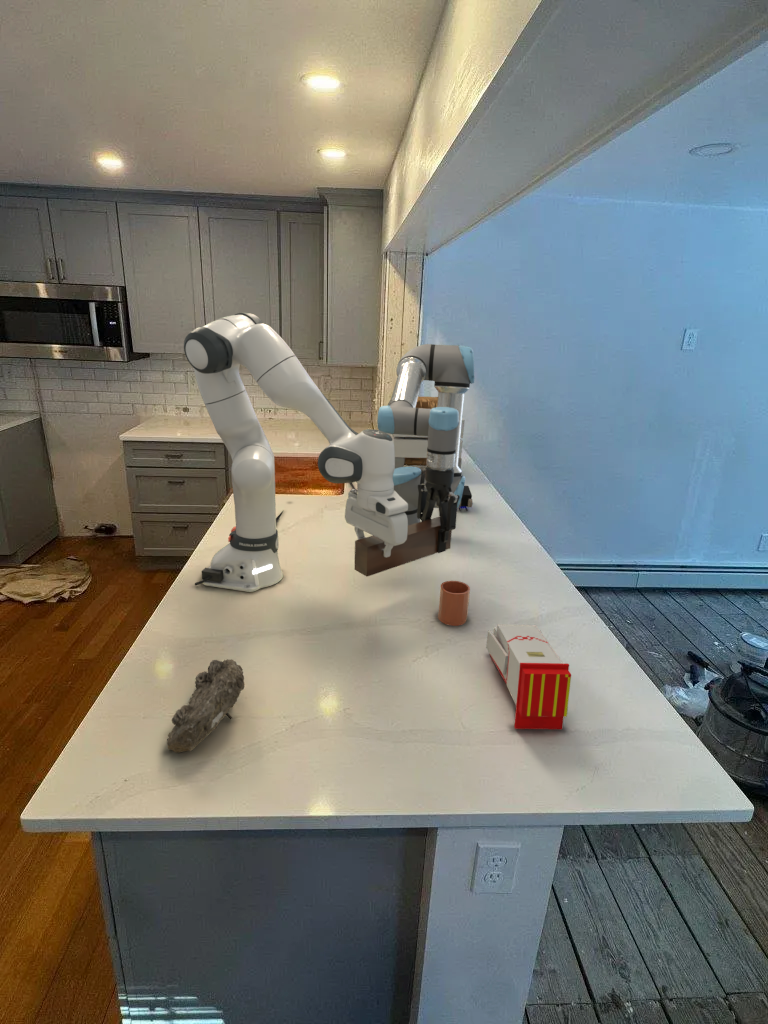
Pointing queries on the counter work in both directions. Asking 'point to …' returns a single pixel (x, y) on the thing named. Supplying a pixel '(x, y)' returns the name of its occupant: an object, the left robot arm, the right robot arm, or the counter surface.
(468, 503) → the figurine character
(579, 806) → the counter surface
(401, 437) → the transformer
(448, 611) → the terracotta cup
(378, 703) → the counter surface
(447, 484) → the right robot arm
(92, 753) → the counter surface
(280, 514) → the feather
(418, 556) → the walnut bar
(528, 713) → the toy
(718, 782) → the counter surface
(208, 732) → the fossil
